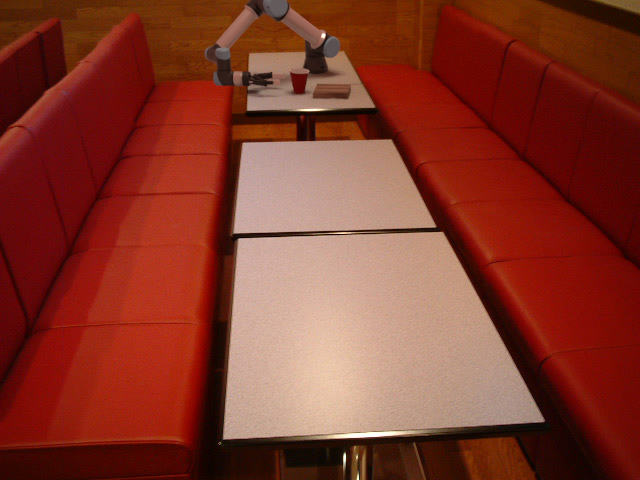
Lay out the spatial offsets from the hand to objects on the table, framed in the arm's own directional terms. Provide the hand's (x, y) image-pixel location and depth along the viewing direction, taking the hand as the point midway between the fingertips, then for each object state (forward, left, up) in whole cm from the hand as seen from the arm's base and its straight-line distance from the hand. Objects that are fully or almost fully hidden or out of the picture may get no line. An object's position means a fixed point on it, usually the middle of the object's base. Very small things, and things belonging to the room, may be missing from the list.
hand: (282, 79), depth 336 cm
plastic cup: (0, +9, -7) cm, 12 cm away
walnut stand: (+2, +27, -7) cm, 28 cm away
